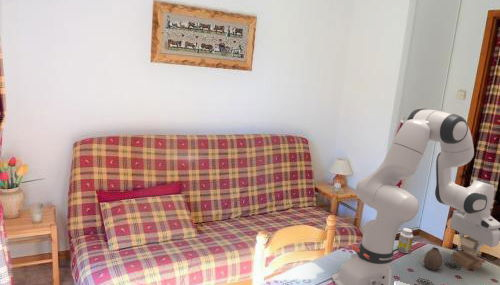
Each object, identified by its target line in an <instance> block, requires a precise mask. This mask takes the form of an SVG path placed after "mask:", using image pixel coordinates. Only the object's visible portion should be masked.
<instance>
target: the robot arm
mask: <svg viewBox="0 0 500 285" xmlns="http://www.w3.org/2000/svg"><path fill="white" fill-rule="evenodd" d="M429 141H433V142H436V143H437V142H438V143H439V146H440V152H439V153H438V154H437V156H436V161H435V173H436V174H435V176H436V178H435V179H436V185H435V191H434V195H435V198H436V201H437V202H438V203H440V204H442V205H445V206H449V207H451V208H454V210H453V212H452V216H451V219H450V222H449V228H450V229H452V230H454V231H456V232H458V233H459V234H458V235H459V238H460V244H461V242H462V238H464V237H470V238H473V239H475V240H477V241H479V242H478V244H479V245H477V246H475V248H474V250H476V251H479V252H480V251H481V248H482V247H483V246H484V245H485V246H487V247H489V248H496V247H498V246H499V245H500V222H499V221H498V220H497V219H495V218H494V217H493V216H492V215H491V207H492V205H493V204H494V203H493V202H494V198H495V185H494V184H493V182H489V181H486V180H483V179H481V178H480V179H479V178H475V179H473V182H472V183H471V185H470V186H467V187H464V186H462V185H459V184H456V183H455V182H454V181H453V180H452V168H460V167H463V166H465V165H467V164H468V163H470V162H471V161H472V159H473V158H474V156H475V148H474V142H473V136H472V132H471V130H470V127H469V125H468V122H467V120H466V119H465V118H464V117H462V116H461V115H458V114H455V113H449V112H446V111H442V110H439V109H438V110H436V109H427V108H416V109H415V110H413V111H412V112H410V114H409V115H408V117H407V119H406V121H405V122H404V123H403V124H402V125H401V127H400V128H399V130H398V132H397V133H396V135H395V137H394V139H393V141H392V144H391V145H390V148H389V150H388V152H387V154H386V155H385V157H384V160H383V161H382V163H381V164H380V165H379V166H378V168H376V169H375V170H374V171H373V172H372V173H371V174H369V175H367V176H365V177H364V176H363V177H362V178H361V179H359V181H357V183H356V186H355V195H356V197H357V198H358V199H359V200H360V201H361V202H362V203H363V204H364V205H366V206H368V207H370V208H371V209H374V211H376V212H377V213H376V217H375V219H372V220H371V219H370V220H369V221H367V222H366V223H365V225H364V229H363V235H362V240H361V242H360V244H359V247H358V245H357V244H354V245H352V247H351V249H352V251H353V252H355V254H354V255H352V256H351V257H350V258H349V259H348V260H346V261H345V262H343V263H342V264H341V266H340V269H339V272H337V273H334V274H332V275H331V280H332V279H333V280H332V282H333V281H334V282H335V283H334V282H333V283H334V284H335V285H392V261H393V258H394V253H395V250H394V247H395V246H394V245H395V241H396V237H397V234H398V231H399V229H400V227H402V225H403V224H405V223H409V222H410V221H412V220H413V219H415V217H416V216H417V215H418V212H419V208H420V207H419V206H420V203H419V200H418V199H417V198H416V197H415V196H414V195H413V194H412V193H410V192H409V191H407V190H405V189H403V188H401V187H399V186H397V185H398V183H399V182H400V181H402V180H403V179H406V178H410V177H412V176H414V175H415V173H416V171H417V170H418V167H419V165H420V162H421V160H422V158H423V157H424V156H423V155H424V154H425V151H426V148H427V145H428V142H429Z"/></svg>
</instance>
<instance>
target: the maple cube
mask: <svg viewBox="0 0 500 285" xmlns="http://www.w3.org/2000/svg"><path fill="white" fill-rule="evenodd" d="M460 242H461V241H460ZM478 242H479V241H477V240H475V239H473V238H470V237H468V236H464V238H462V242H461V243H460V249H461V251H466V252H468V253H470V254H476V253H479V252H480V251H476V250H474V248H475V246H477V245H479V244H478Z"/></svg>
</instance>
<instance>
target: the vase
mask: <svg viewBox="0 0 500 285" xmlns="http://www.w3.org/2000/svg"><path fill="white" fill-rule="evenodd" d="M423 262H424V265H425V267H426V268H427V269H429V270H432V271H437V270H439V269H440V268H441V267H442V265H443V262H444V259H443V255H442V254H441V252H440V249H439V248H438V247H435V246H433V247H432V248H430V249H429V250H428V251H427V252H426V253H425V255H424V257H423Z"/></svg>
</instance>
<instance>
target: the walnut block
mask: <svg viewBox="0 0 500 285" xmlns="http://www.w3.org/2000/svg"><path fill="white" fill-rule="evenodd" d="M452 259H453V260H452ZM451 260H452V261H454V262H455V261H456V262H455V263H456V264H458V265H459V264H460V265H459V266H461V267H463V268H464V269H465V270H470V269H471V270H473V269H482V266H483V262H484V260H483V259H482V258H480V257H479V256H477V255H476V254H475V253H473V254H470V253H468V252H466V251H464V250H456V251H452V256H451Z"/></svg>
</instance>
